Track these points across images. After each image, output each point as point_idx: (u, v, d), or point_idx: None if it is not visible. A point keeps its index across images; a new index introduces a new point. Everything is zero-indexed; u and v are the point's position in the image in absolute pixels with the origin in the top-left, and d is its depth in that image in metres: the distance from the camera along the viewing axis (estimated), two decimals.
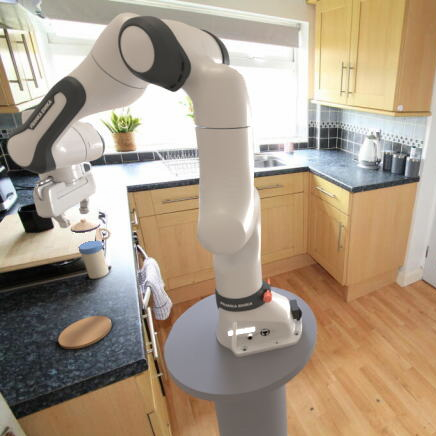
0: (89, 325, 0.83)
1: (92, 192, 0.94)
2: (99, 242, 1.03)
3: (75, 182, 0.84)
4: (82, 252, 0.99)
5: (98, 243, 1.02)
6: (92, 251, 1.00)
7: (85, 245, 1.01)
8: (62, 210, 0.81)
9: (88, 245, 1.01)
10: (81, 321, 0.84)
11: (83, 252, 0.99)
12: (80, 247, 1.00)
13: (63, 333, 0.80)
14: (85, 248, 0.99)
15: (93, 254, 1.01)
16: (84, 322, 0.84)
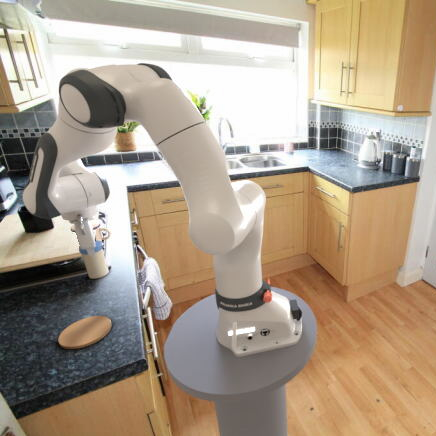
0: (89, 325, 0.83)
1: None
2: (99, 242, 1.03)
3: (93, 216, 0.99)
4: (82, 252, 0.99)
5: (98, 243, 1.02)
6: None
7: None
8: None
9: None
10: (81, 321, 0.84)
11: (83, 252, 0.99)
12: None
13: (63, 333, 0.80)
14: None
15: None
16: (84, 322, 0.84)
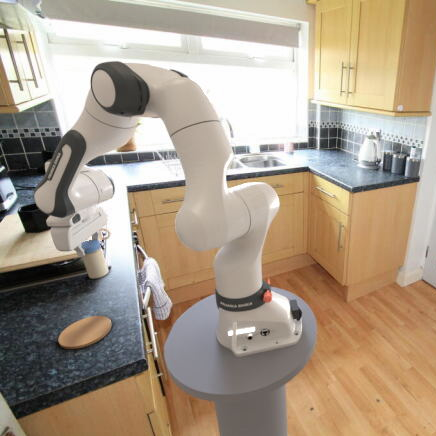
0: (89, 325, 0.83)
1: None
2: None
3: None
4: (99, 244, 1.03)
5: (81, 243, 1.01)
6: None
7: (91, 244, 1.01)
8: None
9: (89, 243, 1.01)
10: (81, 321, 0.84)
11: None
12: (96, 243, 1.02)
13: (63, 333, 0.80)
14: (95, 241, 1.03)
15: (92, 254, 1.00)
16: (84, 322, 0.84)
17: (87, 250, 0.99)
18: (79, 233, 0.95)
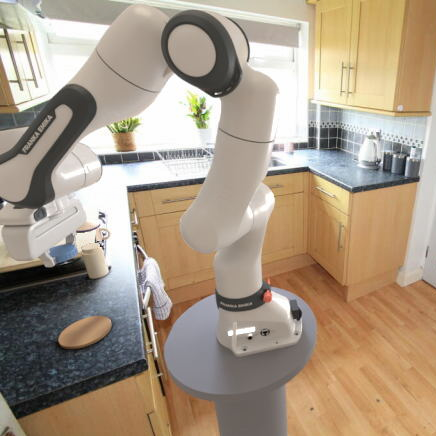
0: (89, 325, 0.83)
1: None
2: None
3: None
4: (76, 249, 0.76)
5: (50, 249, 0.74)
6: None
7: (64, 250, 0.74)
8: None
9: (62, 249, 0.74)
10: (81, 321, 0.84)
11: None
12: (72, 248, 0.74)
13: (63, 333, 0.80)
14: (70, 245, 0.76)
15: (93, 254, 1.01)
16: (84, 322, 0.84)
17: (58, 258, 0.72)
18: (46, 234, 0.68)
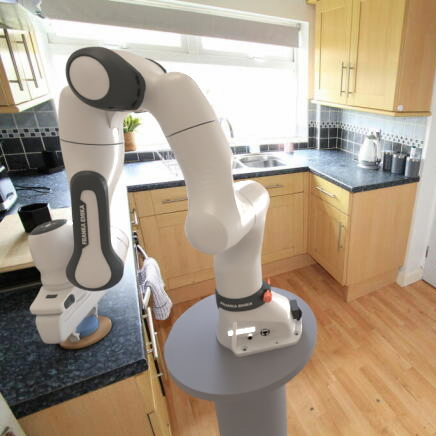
0: None
1: None
2: None
3: None
4: (98, 321, 0.83)
5: None
6: None
7: (87, 324, 0.81)
8: None
9: (85, 322, 0.81)
10: None
11: (97, 320, 0.83)
12: (94, 321, 0.82)
13: None
14: (92, 317, 0.83)
15: None
16: None
17: (83, 333, 0.79)
18: (73, 316, 0.75)
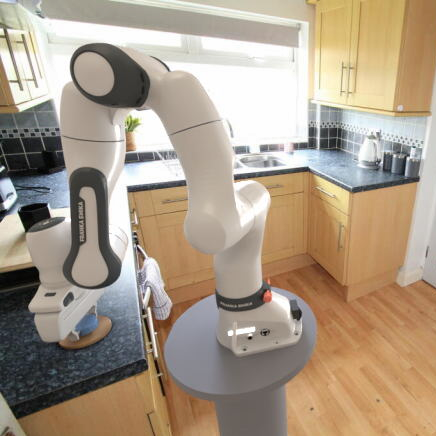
0: None
1: None
2: None
3: None
4: (97, 320, 0.83)
5: None
6: None
7: (86, 322, 0.80)
8: None
9: (84, 321, 0.81)
10: None
11: (96, 318, 0.83)
12: (93, 320, 0.81)
13: None
14: (92, 316, 0.82)
15: None
16: None
17: (82, 332, 0.78)
18: (73, 314, 0.74)
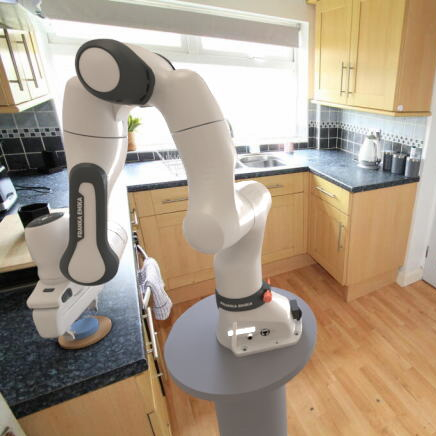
0: None
1: None
2: (71, 326, 0.80)
3: None
4: None
5: (74, 324, 0.81)
6: None
7: (87, 325, 0.81)
8: None
9: (85, 324, 0.81)
10: None
11: (97, 321, 0.83)
12: (94, 323, 0.81)
13: None
14: (93, 319, 0.83)
15: None
16: None
17: (83, 335, 0.79)
18: (71, 310, 0.74)
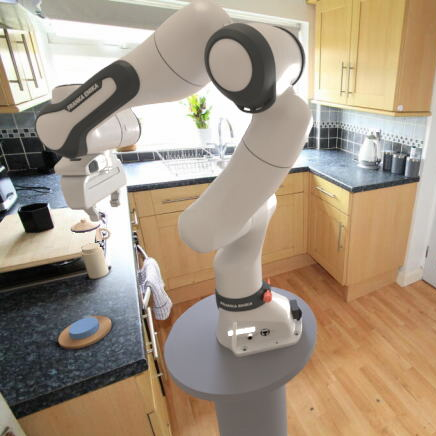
0: None
1: None
2: (71, 326, 0.80)
3: None
4: None
5: (74, 324, 0.81)
6: None
7: (87, 325, 0.81)
8: None
9: (85, 324, 0.81)
10: None
11: (97, 321, 0.83)
12: (94, 323, 0.81)
13: (63, 333, 0.80)
14: (93, 319, 0.83)
15: (93, 254, 1.01)
16: None
17: (83, 335, 0.79)
18: (96, 188, 0.73)
